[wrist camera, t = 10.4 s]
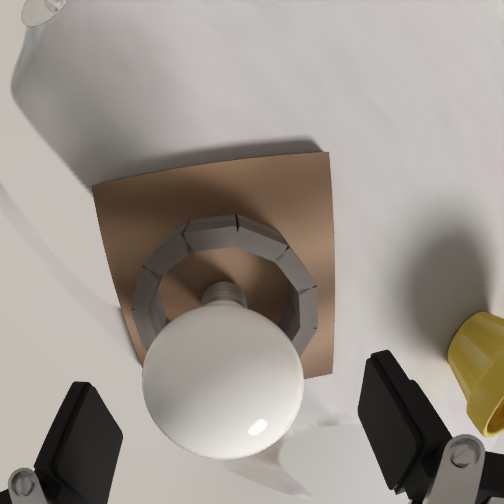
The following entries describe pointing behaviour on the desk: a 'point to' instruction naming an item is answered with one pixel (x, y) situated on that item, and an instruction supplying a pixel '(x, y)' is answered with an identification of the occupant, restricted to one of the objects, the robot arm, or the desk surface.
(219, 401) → the lightbulb
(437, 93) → the desk surface
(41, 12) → the wineglass
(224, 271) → the bulb holder
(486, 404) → the plant pot
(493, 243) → the desk surface
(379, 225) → the desk surface
